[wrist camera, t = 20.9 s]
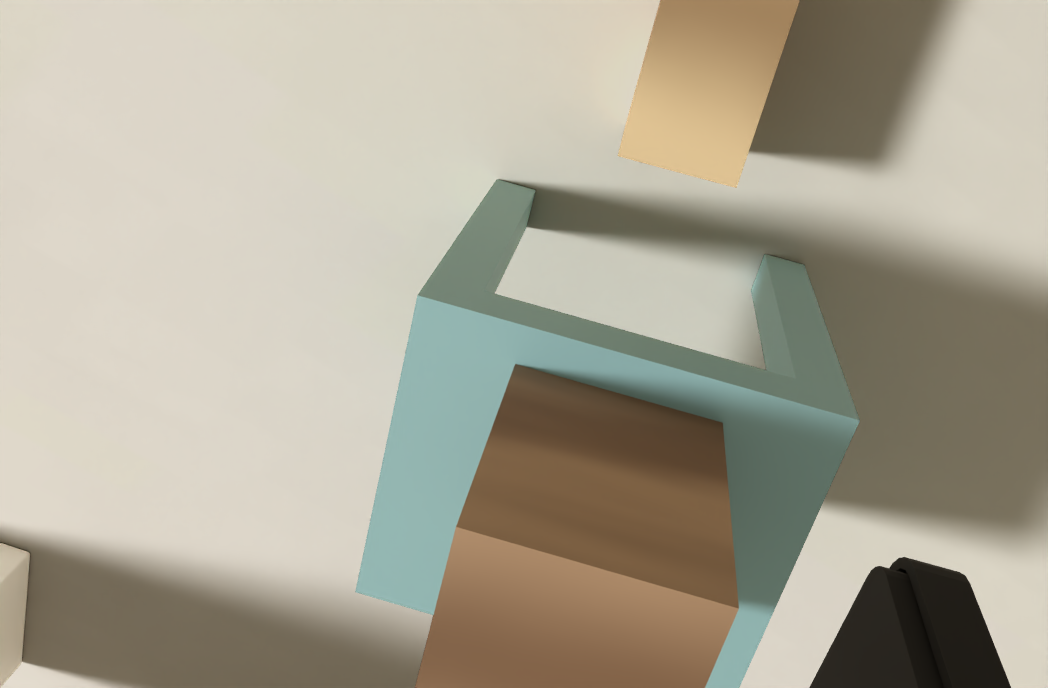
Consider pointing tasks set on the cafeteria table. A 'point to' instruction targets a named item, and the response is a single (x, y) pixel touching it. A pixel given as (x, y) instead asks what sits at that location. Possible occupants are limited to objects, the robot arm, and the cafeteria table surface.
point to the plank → (705, 85)
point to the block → (587, 547)
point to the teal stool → (616, 365)
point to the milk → (12, 607)
